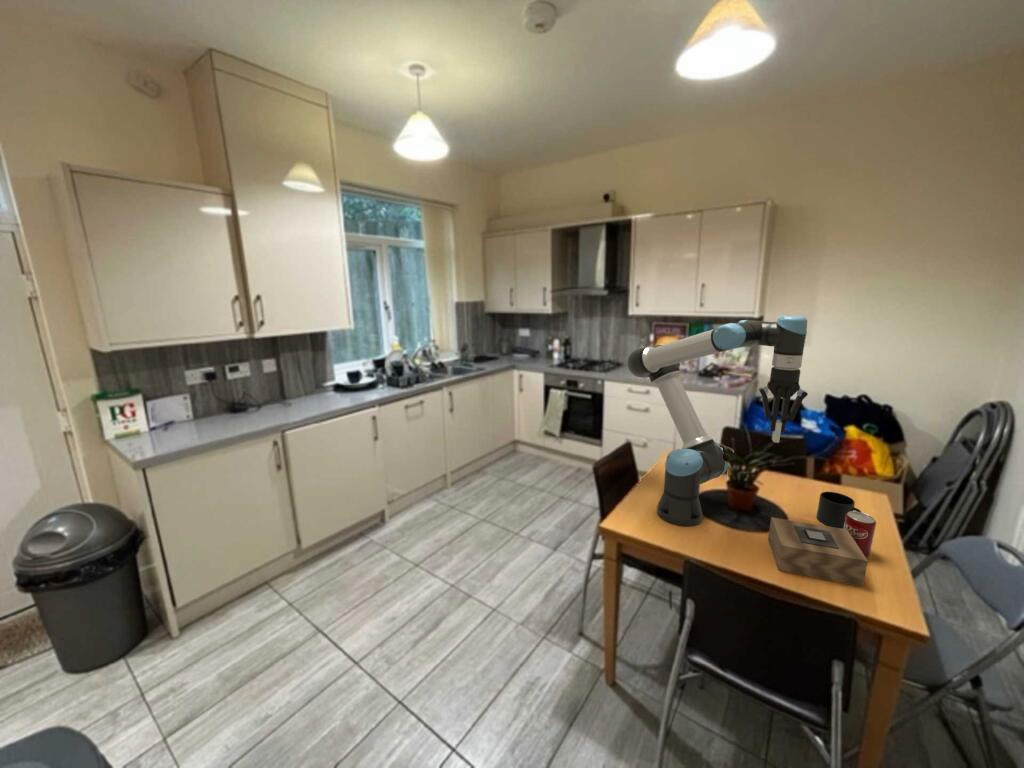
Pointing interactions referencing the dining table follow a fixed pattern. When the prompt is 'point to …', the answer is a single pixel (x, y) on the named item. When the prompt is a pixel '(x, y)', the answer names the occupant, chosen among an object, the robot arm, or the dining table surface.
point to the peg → (815, 536)
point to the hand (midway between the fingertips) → (775, 440)
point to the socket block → (817, 552)
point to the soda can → (861, 529)
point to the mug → (834, 508)
